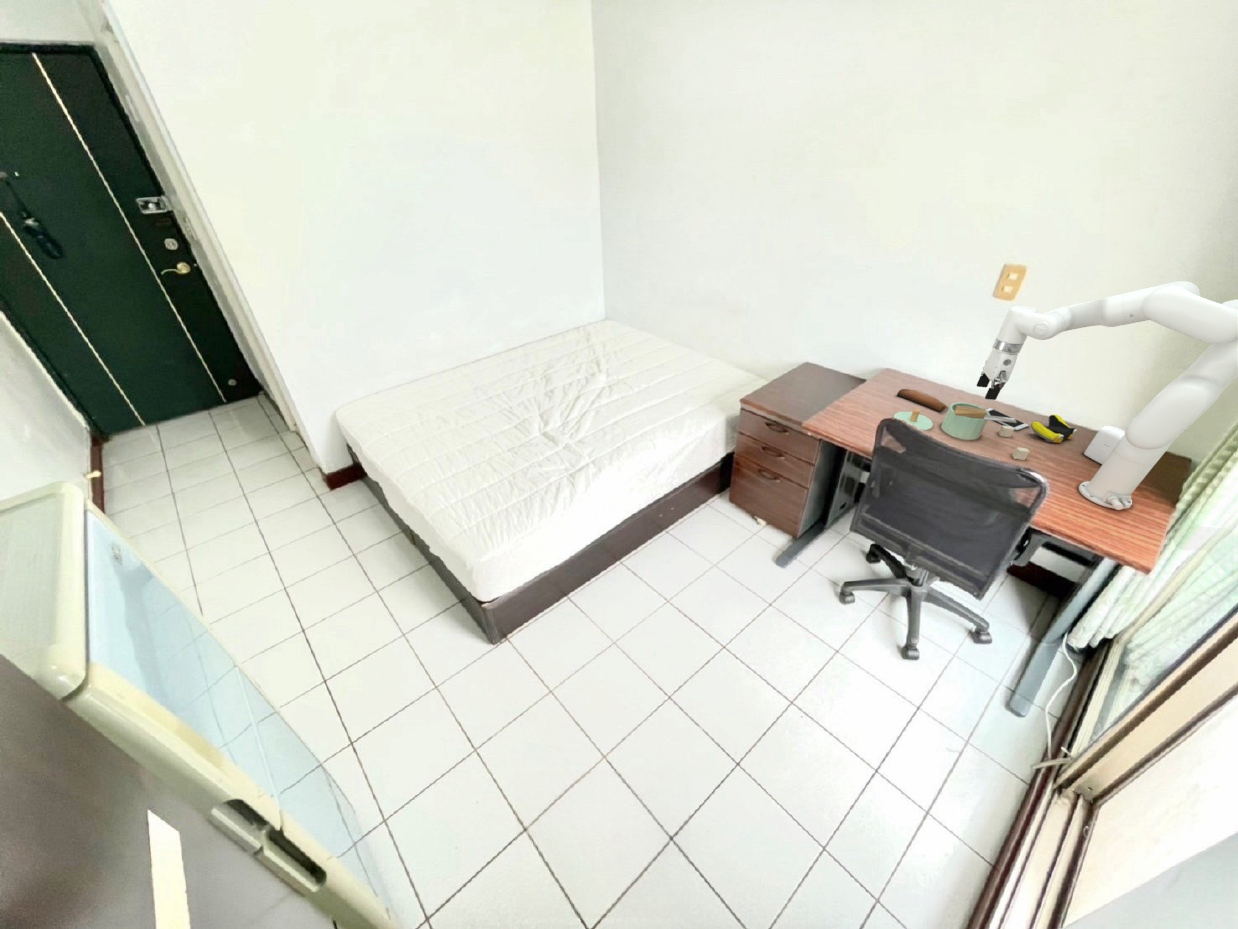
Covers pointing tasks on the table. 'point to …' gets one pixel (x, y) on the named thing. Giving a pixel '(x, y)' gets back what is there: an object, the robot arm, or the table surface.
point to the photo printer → (1104, 443)
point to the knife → (979, 414)
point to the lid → (915, 419)
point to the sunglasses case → (922, 399)
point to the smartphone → (1015, 425)
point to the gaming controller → (1053, 430)
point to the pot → (963, 423)
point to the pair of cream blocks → (1019, 452)
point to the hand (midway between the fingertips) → (985, 392)
